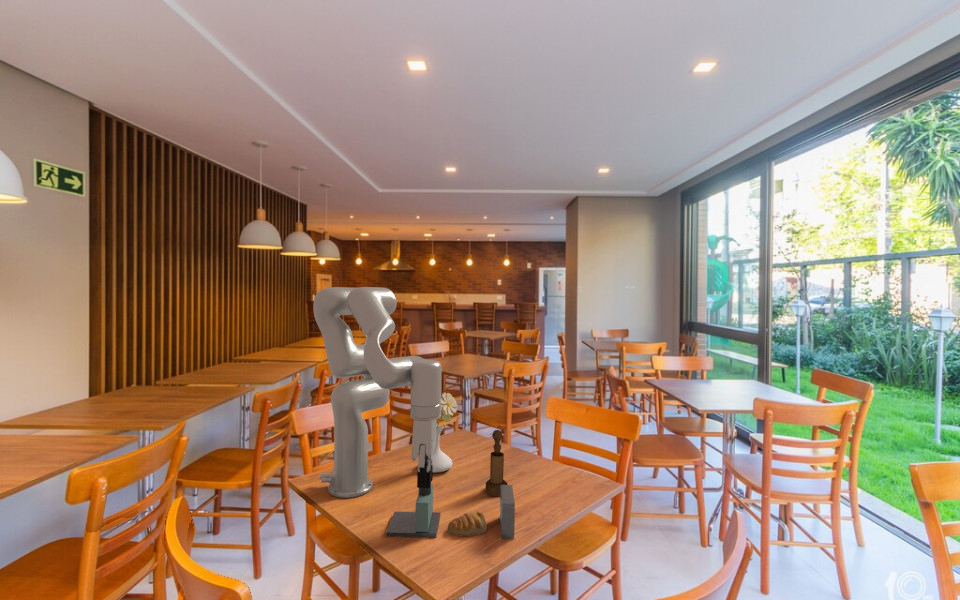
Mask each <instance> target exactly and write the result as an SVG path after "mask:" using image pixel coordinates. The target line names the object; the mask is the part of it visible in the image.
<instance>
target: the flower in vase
mask: <svg viewBox="0 0 960 600" xmlns="http://www.w3.org/2000/svg"><path fill="white" fill-rule="evenodd" d="M457 403H458V402H457V400H456V398H455V397H453V395H452V394H451V393H449V392H447V393H446V392H443V393H441V417H440V418H439V420H438V419H436V445H435V451H434V454H433V457H432V464H431V465H433V473H442V472H445V471H448V470H450V469H451V467H452V466H453V465H454V463H453V460H452V459H451V457H449V456H448V455H447V454H446V453H445V452H443V451H442V450H441V448H440V437H441V433H442V431H443V429H444V426H443V425H439V424H440V422H441V420H443V421H444V422H445V423H448V422H450V421H451V420H453V416H454V414H456V413H457V411H458V404H457Z"/></svg>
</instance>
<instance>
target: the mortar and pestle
mask: <svg viewBox="0 0 960 600" xmlns="http://www.w3.org/2000/svg"><path fill="white" fill-rule="evenodd" d="M491 436H492V439H493V441H494V444H493V447H492V448H493V451H491V453H490V469H489V471H490V472H489V473H490V474H489V479H488V480H487V481H486V482H485V489H484V490H485V493H486V494H488V496H492V497H500V488H501V485H509V484H508V482H507V481H506V480H505V479H504V467H505V466H504V464H505V463H504V462H505V461H504V460H505V454H504V452H502V451H501V449H502V445H501V440H502V439H503V432H502V431H501V430H500V429H495V430H494V431H493V432H492V434H491Z"/></svg>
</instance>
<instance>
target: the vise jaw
mask: <svg viewBox="0 0 960 600" xmlns="http://www.w3.org/2000/svg"><path fill="white" fill-rule="evenodd" d="M425 458H428V457H425ZM425 464H427V462H425ZM430 471H431V460H430ZM415 512H416V515H415V532H428V529H429V525H430V521H431V517H432V512H434V484H432V483H431V486H430V488H418V494H417V498H416V500H415Z"/></svg>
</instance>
